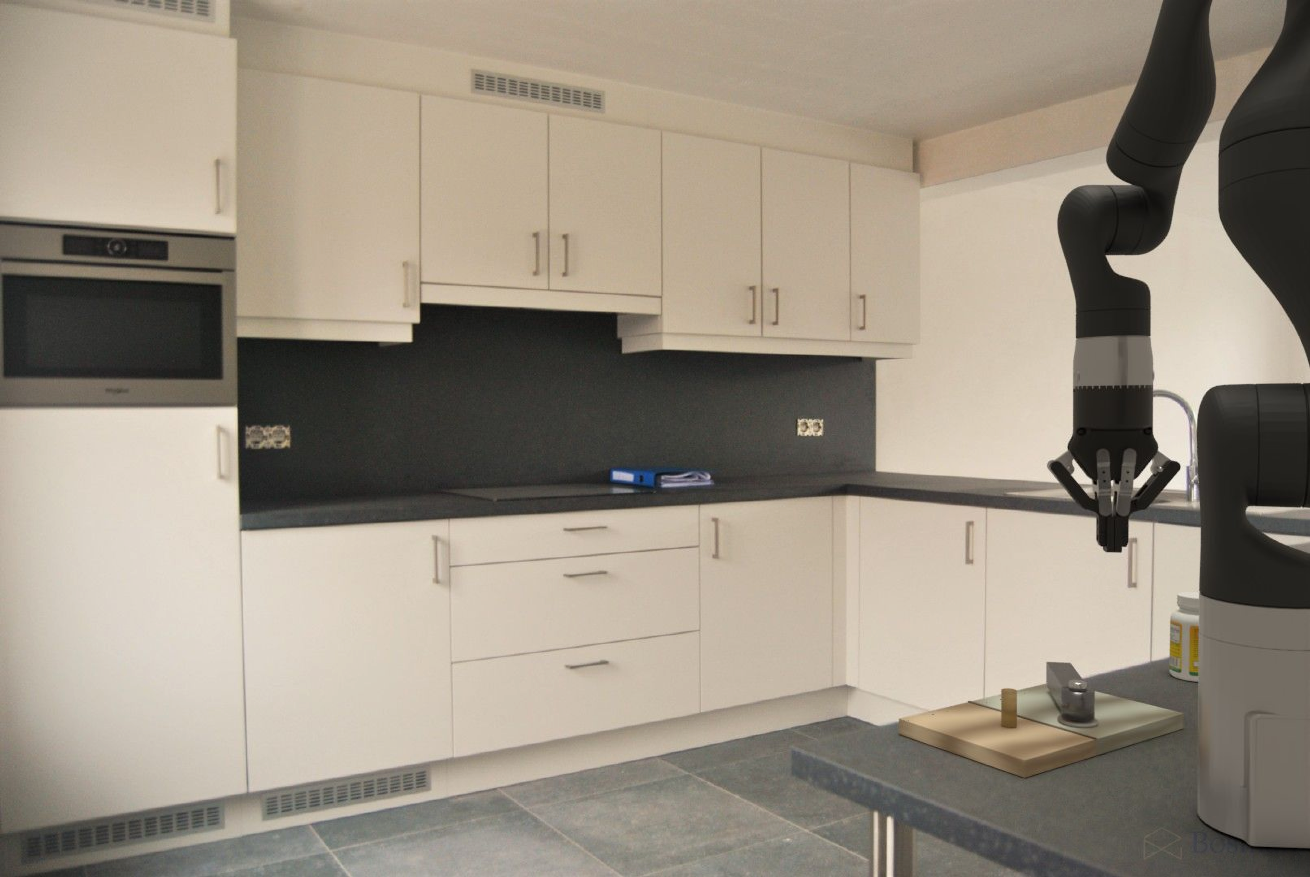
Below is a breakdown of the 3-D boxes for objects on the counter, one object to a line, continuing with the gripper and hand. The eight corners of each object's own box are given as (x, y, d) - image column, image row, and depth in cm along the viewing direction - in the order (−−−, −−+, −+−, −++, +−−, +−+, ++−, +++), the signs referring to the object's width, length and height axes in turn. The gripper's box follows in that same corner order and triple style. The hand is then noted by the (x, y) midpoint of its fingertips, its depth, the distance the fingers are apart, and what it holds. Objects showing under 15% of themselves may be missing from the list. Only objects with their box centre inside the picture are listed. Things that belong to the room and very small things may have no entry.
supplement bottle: (1161, 676, 122) (1161, 594, 122) (1182, 668, 125) (1182, 589, 125) (1209, 685, 118) (1210, 600, 118) (1229, 677, 121) (1230, 595, 121)
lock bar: (1097, 721, 98) (1097, 686, 98) (1063, 720, 99) (1063, 685, 99) (1073, 686, 110) (1073, 655, 110) (1043, 685, 111) (1043, 654, 111)
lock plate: (1183, 728, 103) (1183, 678, 102) (1024, 777, 89) (1024, 720, 89) (1055, 694, 115) (1055, 650, 115) (898, 733, 102) (898, 683, 101)
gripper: (1172, 382, 109) (1171, 547, 110) (1038, 384, 112) (1038, 545, 113) (1193, 381, 102) (1192, 558, 103) (1049, 383, 105) (1049, 555, 105)
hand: (1111, 551), depth 108 cm, fingers closed
